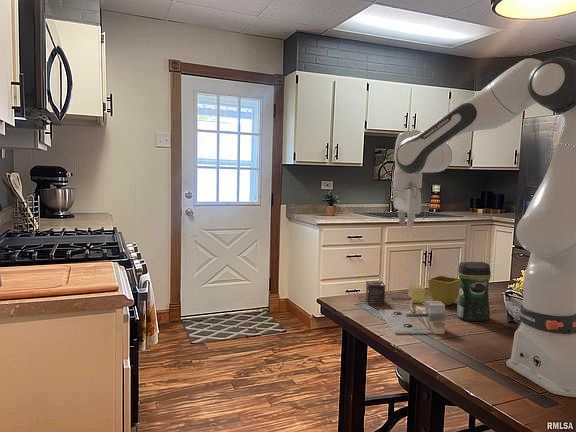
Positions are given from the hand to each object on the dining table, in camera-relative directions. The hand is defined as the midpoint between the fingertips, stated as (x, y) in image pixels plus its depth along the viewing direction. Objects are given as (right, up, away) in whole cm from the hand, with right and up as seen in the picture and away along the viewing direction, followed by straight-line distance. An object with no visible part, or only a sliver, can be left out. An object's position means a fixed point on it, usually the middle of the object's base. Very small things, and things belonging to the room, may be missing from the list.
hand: (405, 225), depth 140 cm
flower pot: (+19, -29, +18) cm, 39 cm away
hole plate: (-2, -31, -3) cm, 31 cm away
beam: (+3, -31, -1) cm, 31 cm away
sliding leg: (+3, -26, +8) cm, 28 cm away
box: (-6, -29, +19) cm, 35 cm away
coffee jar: (+22, -31, +1) cm, 38 cm away
